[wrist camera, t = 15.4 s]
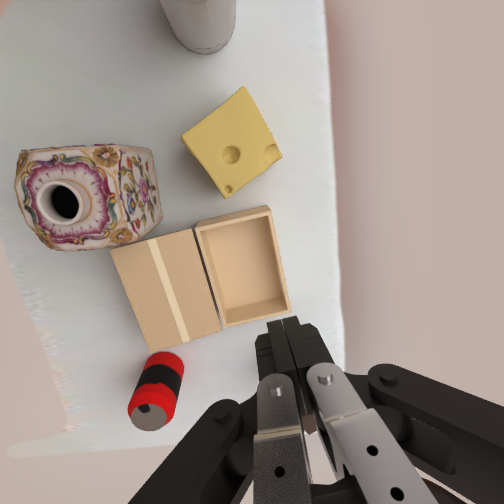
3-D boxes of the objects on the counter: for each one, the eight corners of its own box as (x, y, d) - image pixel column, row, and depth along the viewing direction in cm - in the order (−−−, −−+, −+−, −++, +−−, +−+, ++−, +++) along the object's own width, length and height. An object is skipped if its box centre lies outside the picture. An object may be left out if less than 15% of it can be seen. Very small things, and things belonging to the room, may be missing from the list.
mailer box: (198, 221, 49) (194, 228, 44) (267, 205, 49) (271, 210, 44) (224, 311, 55) (223, 327, 50) (286, 297, 55) (291, 312, 49)
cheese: (278, 157, 47) (290, 157, 38) (224, 195, 48) (222, 204, 39) (242, 98, 44) (245, 81, 35) (186, 140, 45) (173, 135, 36)
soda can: (176, 346, 56) (162, 393, 45) (189, 376, 59) (179, 428, 47) (139, 357, 57) (116, 406, 45) (154, 386, 59) (136, 440, 48)
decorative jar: (76, 152, 45) (-20, 147, 28) (152, 147, 45) (103, 139, 28) (94, 227, 48) (19, 264, 31) (164, 221, 49) (127, 255, 32)
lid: (191, 228, 43) (191, 227, 44) (108, 250, 42) (109, 249, 42) (221, 330, 49) (221, 329, 50) (150, 353, 48) (150, 351, 48)
